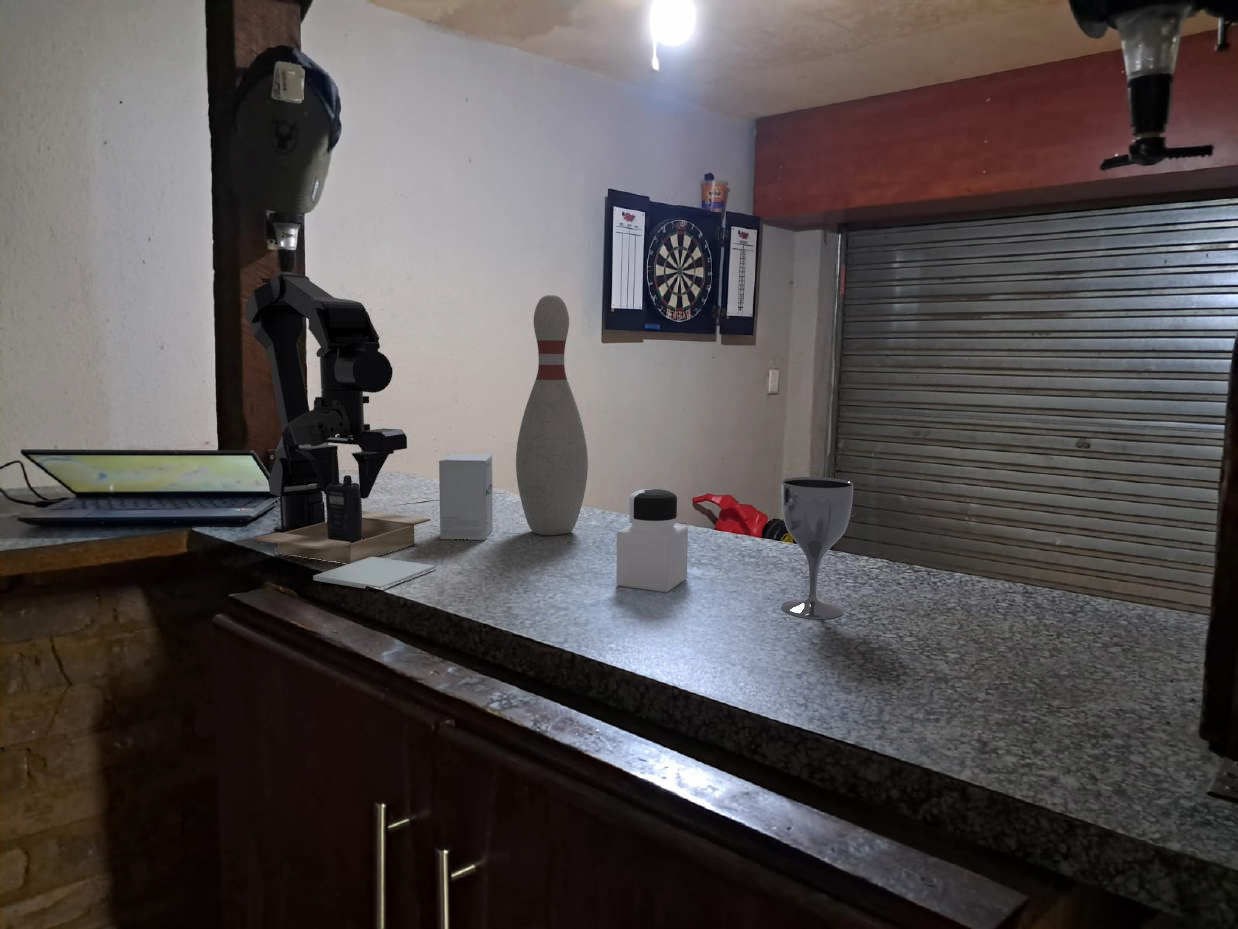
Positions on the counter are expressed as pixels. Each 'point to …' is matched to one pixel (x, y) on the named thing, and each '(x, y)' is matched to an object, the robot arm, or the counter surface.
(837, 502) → the wine glass
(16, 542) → the counter surface
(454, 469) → the supplement box
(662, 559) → the medicine bottle
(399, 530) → the carton
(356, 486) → the two-way radio
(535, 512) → the bowling pin
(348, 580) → the mat
